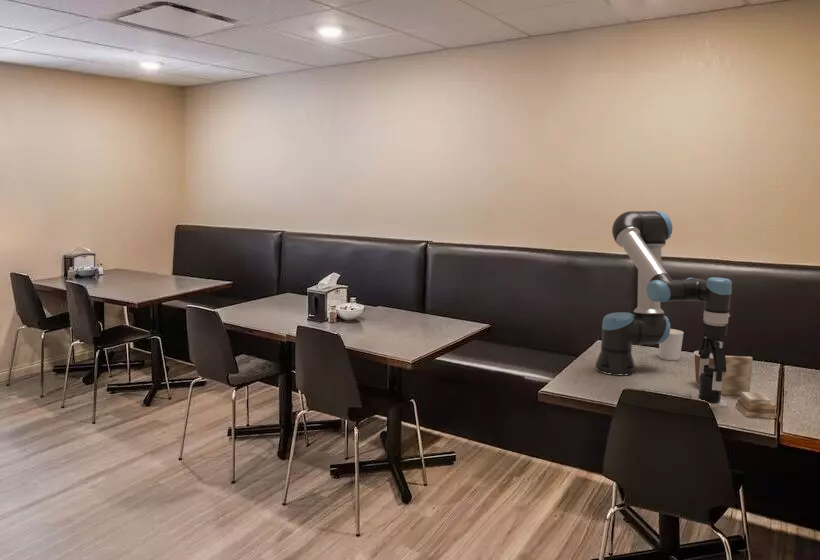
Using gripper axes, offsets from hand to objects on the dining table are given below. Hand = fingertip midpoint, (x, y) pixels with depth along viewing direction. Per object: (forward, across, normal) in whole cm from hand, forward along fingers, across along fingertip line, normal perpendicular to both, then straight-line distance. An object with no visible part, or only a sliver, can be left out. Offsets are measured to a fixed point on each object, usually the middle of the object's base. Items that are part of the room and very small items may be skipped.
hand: (709, 383), depth 200 cm
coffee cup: (+7, +19, -6) cm, 21 cm away
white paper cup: (+8, +55, -2) cm, 56 cm away
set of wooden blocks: (+7, -2, -12) cm, 14 cm away
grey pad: (+7, -1, 0) cm, 7 cm away
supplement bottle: (+6, 0, 0) cm, 6 cm away
